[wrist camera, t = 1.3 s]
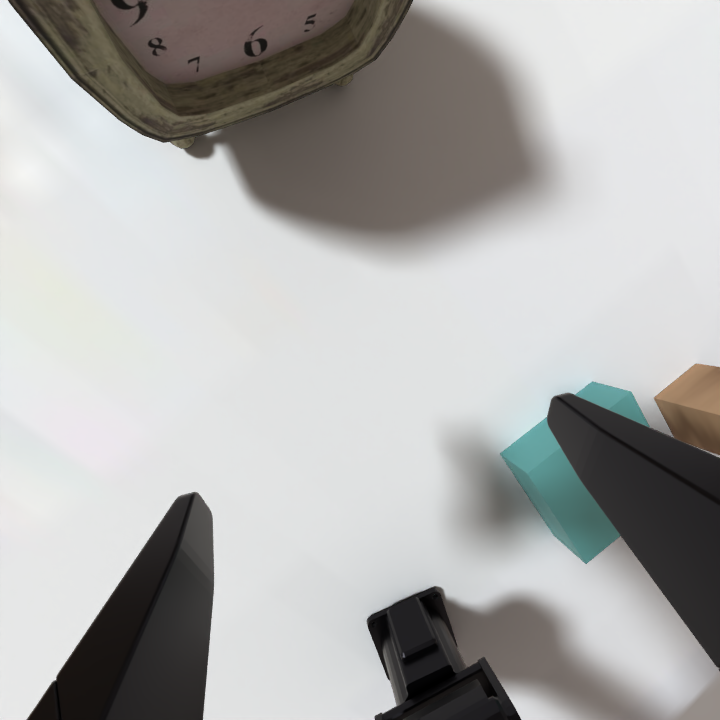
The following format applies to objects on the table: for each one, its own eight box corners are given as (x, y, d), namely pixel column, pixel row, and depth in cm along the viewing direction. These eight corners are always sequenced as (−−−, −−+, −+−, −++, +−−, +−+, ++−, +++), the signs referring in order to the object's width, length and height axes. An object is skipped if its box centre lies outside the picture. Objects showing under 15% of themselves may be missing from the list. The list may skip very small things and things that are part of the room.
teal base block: (635, 465, 34) (680, 486, 30) (551, 533, 33) (585, 564, 29) (589, 380, 31) (631, 391, 27) (497, 452, 31) (527, 473, 27)
